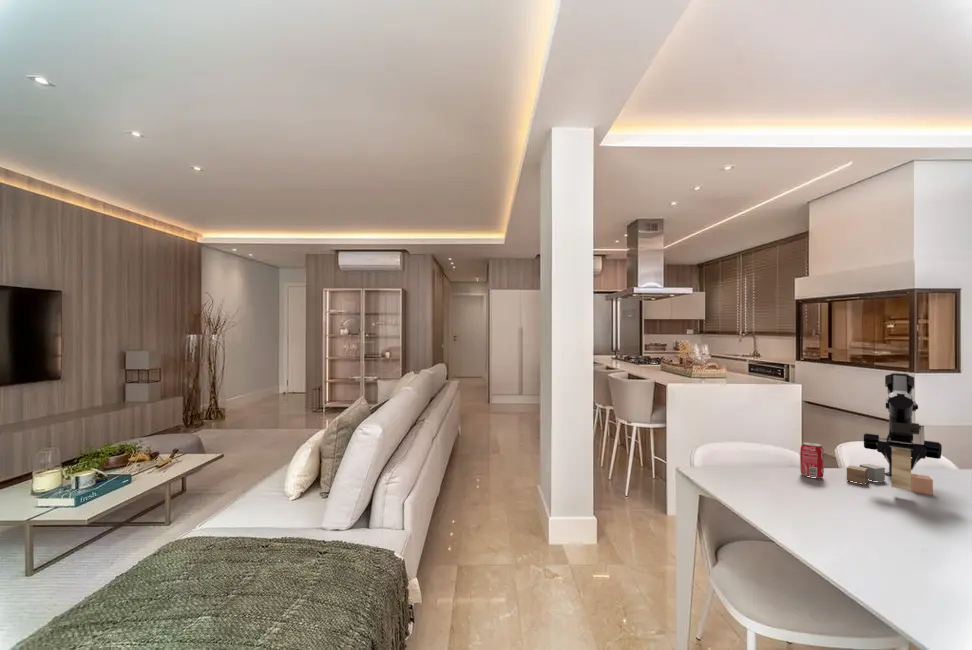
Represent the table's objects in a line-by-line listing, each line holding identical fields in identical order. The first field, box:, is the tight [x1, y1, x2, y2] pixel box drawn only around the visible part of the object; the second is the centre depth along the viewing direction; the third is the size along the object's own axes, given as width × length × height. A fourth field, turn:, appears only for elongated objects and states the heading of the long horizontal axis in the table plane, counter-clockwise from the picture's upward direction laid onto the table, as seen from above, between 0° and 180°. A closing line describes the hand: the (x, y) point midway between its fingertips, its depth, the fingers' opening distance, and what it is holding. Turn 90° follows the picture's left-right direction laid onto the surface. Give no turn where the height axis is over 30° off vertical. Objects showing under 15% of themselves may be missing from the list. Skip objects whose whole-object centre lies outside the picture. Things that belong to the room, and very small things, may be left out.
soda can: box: [799, 441, 825, 479], centre depth 164 cm, size 7×7×12 cm
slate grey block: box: [859, 463, 886, 481], centre depth 162 cm, size 5×5×5 cm
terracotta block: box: [910, 473, 934, 496], centre depth 151 cm, size 5×5×5 cm
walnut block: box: [846, 464, 869, 485], centre depth 159 cm, size 5×5×5 cm
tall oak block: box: [890, 447, 912, 491], centre depth 144 cm, size 4×4×12 cm
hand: (901, 467), depth 143 cm, fingers closed on tall oak block, 4 cm apart
